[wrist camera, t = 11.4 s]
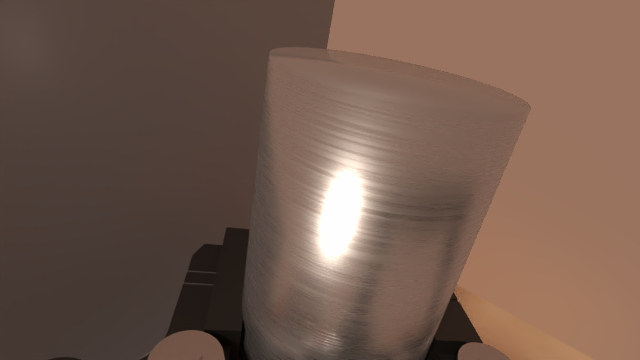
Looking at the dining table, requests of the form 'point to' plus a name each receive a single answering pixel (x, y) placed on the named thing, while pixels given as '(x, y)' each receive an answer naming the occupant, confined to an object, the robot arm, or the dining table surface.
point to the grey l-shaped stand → (125, 158)
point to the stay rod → (366, 202)
